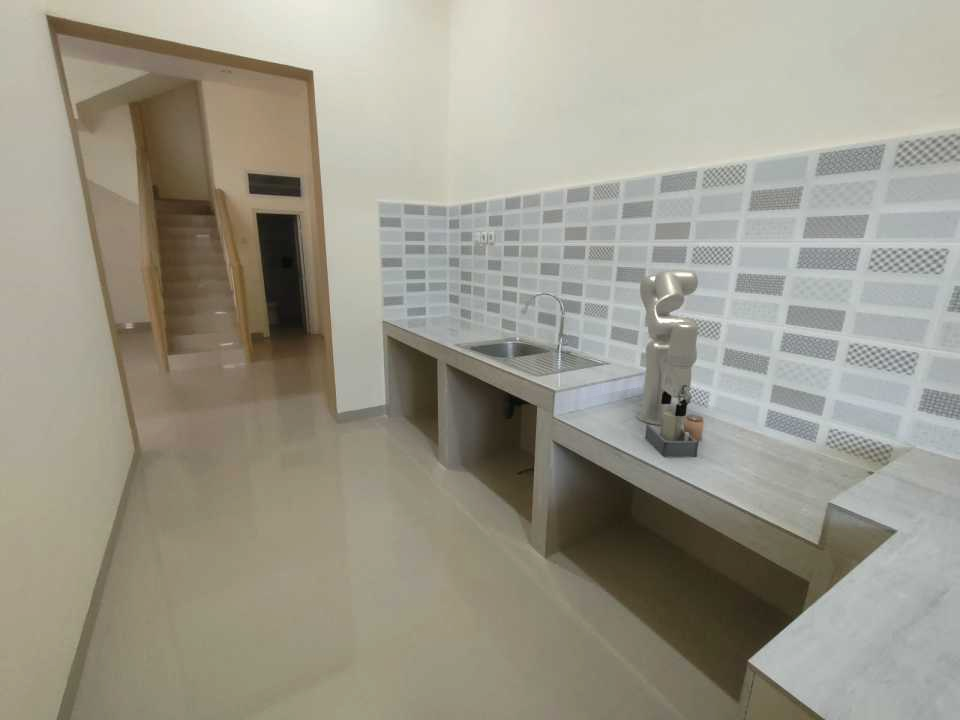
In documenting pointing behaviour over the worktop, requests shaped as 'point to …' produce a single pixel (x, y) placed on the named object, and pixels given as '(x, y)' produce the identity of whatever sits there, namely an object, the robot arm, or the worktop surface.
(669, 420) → the skincare box
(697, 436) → the jar
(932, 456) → the worktop surface
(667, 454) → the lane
